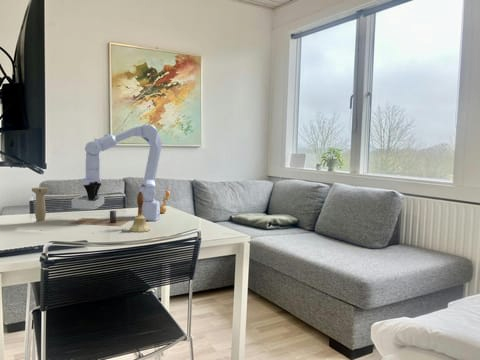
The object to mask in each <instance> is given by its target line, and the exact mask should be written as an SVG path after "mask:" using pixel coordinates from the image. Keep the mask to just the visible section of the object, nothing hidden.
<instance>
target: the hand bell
mask: <svg viewBox="0 0 480 360" xmlns="http://www.w3.org/2000/svg"><path fill="white" fill-rule="evenodd" d="M136 198H137V199H136V202H137V208H138V209H137V215H136V216H135V217H134V218H133V222H132V226H131V227H129V231H130V232H133V233H145V232H146V233H147V232H149V231H151V229H150V227H149V226H148V224H147V220H146V219H145V217H144V216H142V205H143V201H144V197H143V194H142V192H139V193H137V196H136Z"/></svg>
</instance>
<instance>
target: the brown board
mask: <svg viewBox="0 0 480 360" xmlns="http://www.w3.org/2000/svg"><path fill="white" fill-rule="evenodd" d="M130 221H131V219H130V220H129V219H117V210H109V218H108V219H107V218H94V217H93V218H91V217H81V218H79V219H76V220H74V221H71V222H69V223H68V224H70V225H72V224H73V225H88V226H105V227H108V226H109V227H121V226H123V225H125V224H126V223H129V222H130Z"/></svg>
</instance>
